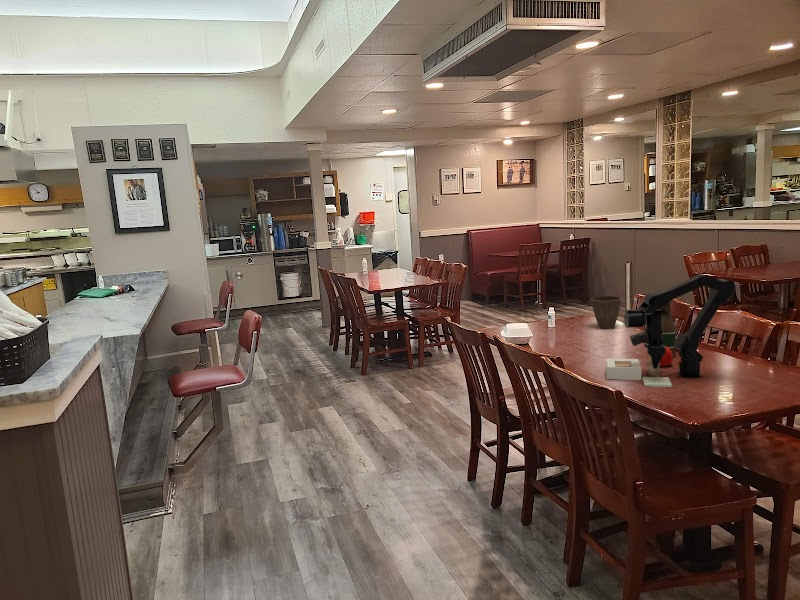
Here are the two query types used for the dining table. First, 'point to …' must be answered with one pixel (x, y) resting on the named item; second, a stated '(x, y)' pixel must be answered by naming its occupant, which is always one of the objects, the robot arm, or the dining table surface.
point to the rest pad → (657, 381)
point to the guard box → (623, 369)
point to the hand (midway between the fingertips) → (653, 366)
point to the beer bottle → (668, 330)
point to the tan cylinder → (651, 370)
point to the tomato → (666, 357)
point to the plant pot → (606, 310)
